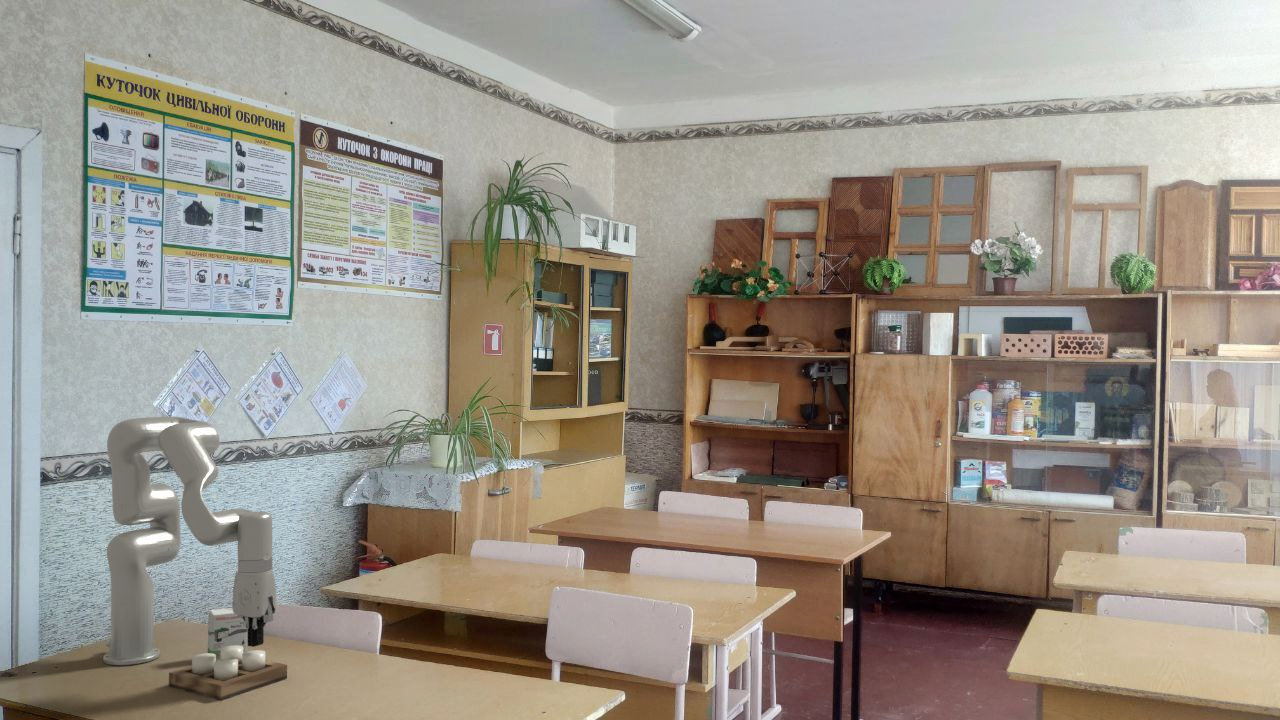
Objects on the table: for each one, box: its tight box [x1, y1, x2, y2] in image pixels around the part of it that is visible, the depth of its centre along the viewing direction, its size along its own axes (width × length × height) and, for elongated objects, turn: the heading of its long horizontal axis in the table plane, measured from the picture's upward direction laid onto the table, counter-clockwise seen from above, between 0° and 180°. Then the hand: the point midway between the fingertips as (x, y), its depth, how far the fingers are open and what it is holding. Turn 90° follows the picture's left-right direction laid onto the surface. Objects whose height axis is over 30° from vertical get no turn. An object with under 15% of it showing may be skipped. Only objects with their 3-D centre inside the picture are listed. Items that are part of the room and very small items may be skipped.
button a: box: [191, 652, 216, 675], centre depth 233 cm, size 5×5×4 cm
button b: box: [220, 645, 243, 665], centre depth 240 cm, size 5×5×4 cm
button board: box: [168, 658, 288, 701], centre depth 234 cm, size 18×18×3 cm
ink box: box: [207, 607, 248, 659], centre depth 254 cm, size 9×5×12 cm, turn 123°
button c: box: [214, 658, 238, 680], centre depth 229 cm, size 5×5×4 cm
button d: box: [242, 649, 266, 672], centre depth 236 cm, size 5×5×4 cm
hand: (255, 644), depth 236 cm, fingers closed
